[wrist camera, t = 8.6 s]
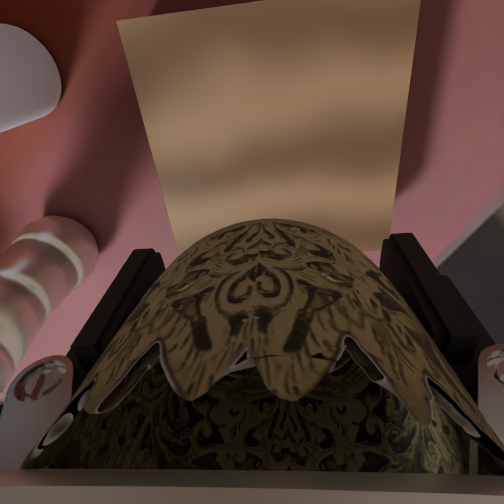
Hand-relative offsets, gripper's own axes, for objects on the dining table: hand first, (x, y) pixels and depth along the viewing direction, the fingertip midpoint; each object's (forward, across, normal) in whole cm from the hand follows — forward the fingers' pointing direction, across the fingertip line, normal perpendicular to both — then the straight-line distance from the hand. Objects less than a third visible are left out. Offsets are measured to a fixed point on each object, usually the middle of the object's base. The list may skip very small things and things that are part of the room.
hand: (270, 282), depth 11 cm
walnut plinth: (+18, 0, 0) cm, 18 cm away
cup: (+2, 0, 0) cm, 2 cm away
